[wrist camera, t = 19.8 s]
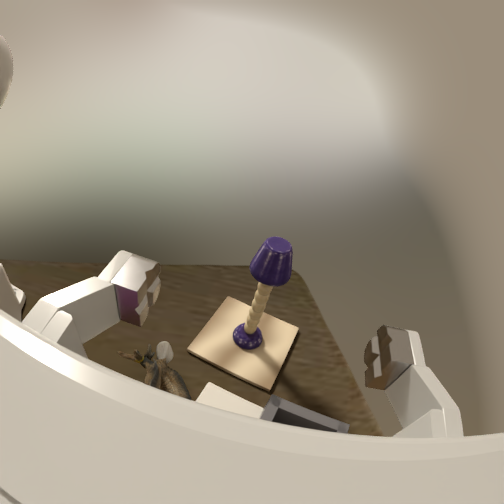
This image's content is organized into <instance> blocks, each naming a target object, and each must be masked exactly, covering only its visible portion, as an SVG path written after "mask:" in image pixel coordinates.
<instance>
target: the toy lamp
mask: <svg viewBox="0 0 504 504" xmlns="http://www.w3.org/2000/svg"><path fill="white" fill-rule="evenodd" d="M292 253H293V252H292V246H291V244H290V243H289V242H288V241H287V240H285V239H283V238H281V237H270V238H268V239H267V240H266V241H265V242H264V243H263V245H262V246H261V248H260V249H259V250H258V252H257V254H256V255H255V256H254V258H253V260H252V261H251V264H250V272H251V274H252V276H253V277H254V278H255V279H256V280H257V281H259V283H258V290H257V291H256V293H255V298H254V300H253V302H252V307H251V308H250V310H249V315H248V316H247V321H246V323H242V324H240V325H238V326H237V327H236V328H235V330H234V331H233V340H234V342H235V343H236V345H238V346H239V347H241V348H243V349H247V350H251V349H255V348H258V347H259V346H260V345H261V343H262V332H261V330H260V329H259V328H258V327H257V325H258V324H259V322H260V318H261V316H262V315H263V310H264V309H265V307H266V302H267V301H268V299H269V293H270V292H271V290H272V288H273V286H281V285H284V284H285V283H287V282H288V281H289V279H290V276H291V269H292Z"/></svg>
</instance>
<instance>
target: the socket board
mask: <svg viewBox="0 0 504 504" xmlns="http://www.w3.org/2000/svg"><path fill="white" fill-rule="evenodd" d="M195 402H198V403H202V404H205V405H208V406H212V407H215V408H219V409H222V410H226V411H230V412H233V413H237V414H241V415H245V416H249V417H253V418H258V419H262V420H267V421H271V422H276V423H281V424H286V425H292V426H297V427H303V428H309V429H315V430H322V431H329V432H337V433H345V434H347V433H348V429H349V426H350V425H349V424H346V423H344V422H341V421H338V420H335V419H332V418H330V417H327V416H324V415H322V414H319V413H316V412H314V411H311V410H309V409H306V408H304V407H301V406H299V405H296V404H294V403H292V402H289V401H287V400H284V399H282V398H280V397H277V396H275V395H273V394H272V395H271V397H270V399H269V401H268V402H267V404H266V406H265V407H264V408H262V407H260V406H257V405H255V404H253V403H251V402H249V401H247V400H245V399H242V398H240V397H238V396H236V395H234V394H232V393H230V392H228V391H226V390H224V389H222V388H220V387H218V386H216V385H214V384H212V383H210V382H208V384H207V385H206V387H205V388H204V390H203V391H202V392H201V394H200V395H199V397H198V398H197V400H196V401H195Z"/></svg>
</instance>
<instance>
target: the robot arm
mask: <svg viewBox="0 0 504 504" xmlns="http://www.w3.org/2000/svg"><path fill="white" fill-rule="evenodd" d="M12 59H13V58H12V54H11V50H10V48H9V45H8V43H7V42H6V40H5V39H4V38H3V37H2V35H0V109H1V107H2V105H3V103H4V101H5V99H6V97H7V95H8V92H9V89H10V85H11V82H12V76H13V60H12ZM159 273H160V264H159V263H158V262H155V261H153V260H150V259H146V258H144V257H141V256H138V255H136V254H132V253H129V252H126V251H123V250H122V251H119V252H118V253H117V254H116V256H115V257H114V258H113V259H112V261H111V262H110V263H109V264H108V265H107V266H106V268H105V269H104V270H103V271H102V273H101V274H100V275H99V276H98V278H97V277H92V278H89V279H87V280H84V281H82V282H79V283H77V284H74V285H72V286H69V287H67V288H65V289H62V290H60V291H57V292H55V293H52V294H50V295H48V296H45V297H43V298H41V299H40V300H39V301H38V302H37V304H36V305H35V306H34V307H33V308H32V310H31V311H30V312H29V313H28V315H27V316H26V317H25V319H24V320H23V321H22V322H21V310H22V308H23V305H24V303H25V300H26V296H25V294H24V293H23V291H21V290H20V289H18V288H17V287H15V286H13V285H12V284H10V282H9V279H8V277H7V275H6V273H5V270H4V268H3V266H2V265H1V263H0V504H504V433H497V434H488V435H479V436H466V437H464V436H463V429H462V423H461V415H460V410H459V408H458V407H457V405H456V404H455V402H454V401H453V400H452V398H451V397H450V395H449V394H448V393H447V391H446V390H445V388H444V387H443V386H442V384H441V383H440V382H439V380H438V379H437V378H436V376H435V375H434V374H433V373H432V371H431V370H430V368H429V367H426V365H425V360H424V355H423V351H422V346H421V341H420V337H419V334H418V333H417V332H414V331H409V330H404V329H400V328H395V327H391V326H387V325H383V326H381V327H380V328H379V329H378V330H377V336H376V337H374V338H371V340H370V341H369V342H368V344H367V346H366V349H365V353H364V362H365V364H366V365H367V367H368V369H367V370H366V371H365V386H366V387H369V388H375V389H380V390H385V391H384V392H385V394H386V396H387V398H388V400H389V402H390V404H391V406H392V408H393V409H394V412H395V413H396V415H397V418H398V420H399V421H400V423H401V426H402V428H403V430H401V431H400V432H398V433H397V434H395V435H394V436H393V437H378V436H365V435H354V434H345V433H337V432H329V431H322V430H315V429H309V428H303V427H297V426H292V425H286V424H281V423H276V422H271V421H267V420H262V419H258V418H253V417H249V416H245V415H241V414H237V413H233V412H230V411H226V410H222V409H219V408H215V407H212V406H208V405H205V404H202V403H198V402H195V401H192V400H189V399H186V398H183V397H180V396H177V395H174V394H171V393H168V392H165V391H163V390H160V389H157V388H155V387H152V386H149V385H147V384H144V383H142V382H139V381H136V380H134V379H132V378H129V377H127V376H124V375H122V374H120V373H117V372H115V371H113V370H110V369H108V368H106V367H104V366H102V365H99V364H97V363H95V362H93V361H91V360H89V359H88V358H87V355H86V352H85V350H84V347H83V345H82V344H83V343H85V342H87V341H88V340H90V339H91V338H93V337H95V336H96V335H98V334H100V333H101V332H103V331H104V330H106V329H108V328H109V327H111V326H113V325H114V324H116V323H117V322H119V321H120V320H122V321H125V322H127V323H130V324H133V325H136V326H139V327H141V326H142V324H143V322H144V321H145V319H146V317H147V315H148V307H150V306H152V305H154V303H155V301H156V299H157V297H158V294H159V290H160V279H159V278H158V274H159Z"/></svg>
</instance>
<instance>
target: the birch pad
mask: <svg viewBox="0 0 504 504" xmlns="http://www.w3.org/2000/svg"><path fill="white" fill-rule="evenodd" d="M250 308H251V306H248V305H246V304H244V303H242V302H240V301H238V300H235V299H233V298H231V297H229V296H228V297H227V298H226V300H225V301H224V302H223V304H222V305H221V306H220V307H219V309H218V310H217V311H216V313H215V314H214V315H213V316H212V318H211V319H210V320H209V322H208V323H207V324H206V325H205V327H204V328H203V329H202V330H201V332H200V333H199V334H198V336H197V337H196V338H195V339H194V341H193V342H192V343H191V345H190V346H189V347H188V348H187V351H188V352H190V353H191V354H193V355H195V356H197V357H199V358H201V359H203V360H204V361H206V362H208V363H210V364H212V365H214V366H216V367H218V368H220V369H222V370H224V371H226V372H228V373H230V374H232V375H234V376H236V377H238V378H240V379H242V380H244V381H246V382H248V383H251V384H253V385H255V386H257V387H259V388H261V389H264V390H266V391H268V392H269V391H270V389H271V387H272V385H273V383H274V381H275V379H276V377H277V375H278V373H279V370H280V368H281V366H282V364H283V362H284V360H285V358H286V356H287V353H288V351H289V349H290V347H291V345H292V342H293V340H294V338H295V336H296V333H297V331H298V329H299V328H298V327H295V326H293V325H291V324H288V323H286V322H284V321H282V320H279V319H277V318H275V317H273V316H270V315H268V314H266V313H264V312H263V315H262V316H261V318H260V322H259V324H258V325H257V327H258V328H259V329H260V330H261V332H262V343H261V345H260V346H259V347H258V348H255V349H251V350H247V349H243V348H241V347H239V346H238V345H236V343H235V342H234V340H233V331H234V330H235V328H236V327H237V326H238V325H240V324H242V323H246V321H247V316H248V315H249V310H250Z"/></svg>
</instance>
